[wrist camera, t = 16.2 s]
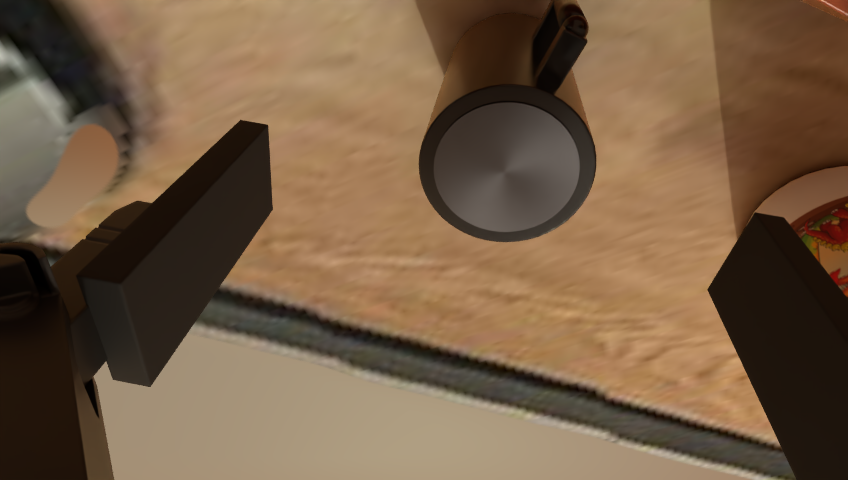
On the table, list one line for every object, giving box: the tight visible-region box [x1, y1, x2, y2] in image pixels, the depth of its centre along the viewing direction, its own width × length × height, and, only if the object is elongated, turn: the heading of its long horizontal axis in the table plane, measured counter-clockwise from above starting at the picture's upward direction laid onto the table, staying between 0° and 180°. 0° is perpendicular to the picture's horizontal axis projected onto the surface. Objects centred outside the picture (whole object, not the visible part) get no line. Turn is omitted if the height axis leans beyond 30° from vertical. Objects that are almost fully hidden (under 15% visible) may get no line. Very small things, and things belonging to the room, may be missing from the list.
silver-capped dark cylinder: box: [419, 0, 596, 242], centre depth 20 cm, size 8×6×10 cm
